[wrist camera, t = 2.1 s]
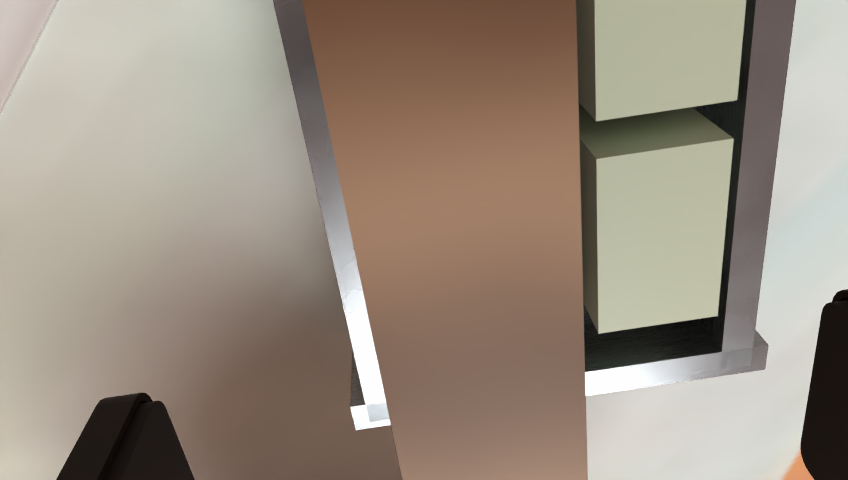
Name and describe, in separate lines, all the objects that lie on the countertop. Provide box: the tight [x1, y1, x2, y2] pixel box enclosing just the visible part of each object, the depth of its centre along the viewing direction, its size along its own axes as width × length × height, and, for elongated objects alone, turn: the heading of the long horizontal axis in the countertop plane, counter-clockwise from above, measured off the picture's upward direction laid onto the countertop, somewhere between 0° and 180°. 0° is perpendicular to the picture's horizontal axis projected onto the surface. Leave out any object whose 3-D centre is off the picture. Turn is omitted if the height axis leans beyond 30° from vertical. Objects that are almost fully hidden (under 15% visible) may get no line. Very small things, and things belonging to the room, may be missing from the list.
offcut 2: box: [578, 102, 734, 334], centre depth 21 cm, size 6×4×5 cm, turn 7°
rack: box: [273, 0, 796, 430], centre depth 20 cm, size 18×14×5 cm
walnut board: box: [302, 0, 588, 480], centre depth 16 cm, size 12×3×13 cm, turn 7°
